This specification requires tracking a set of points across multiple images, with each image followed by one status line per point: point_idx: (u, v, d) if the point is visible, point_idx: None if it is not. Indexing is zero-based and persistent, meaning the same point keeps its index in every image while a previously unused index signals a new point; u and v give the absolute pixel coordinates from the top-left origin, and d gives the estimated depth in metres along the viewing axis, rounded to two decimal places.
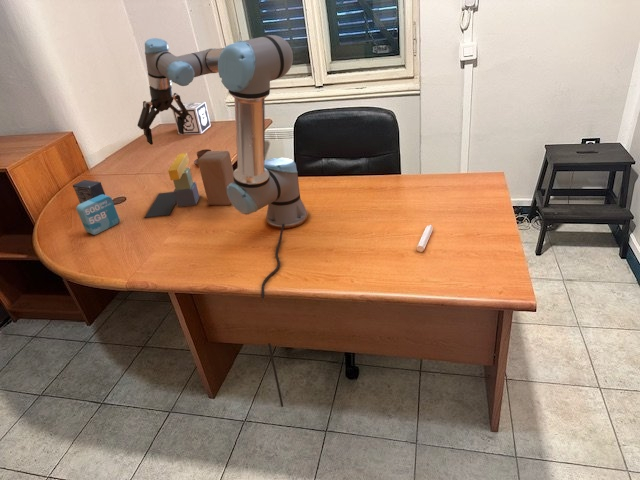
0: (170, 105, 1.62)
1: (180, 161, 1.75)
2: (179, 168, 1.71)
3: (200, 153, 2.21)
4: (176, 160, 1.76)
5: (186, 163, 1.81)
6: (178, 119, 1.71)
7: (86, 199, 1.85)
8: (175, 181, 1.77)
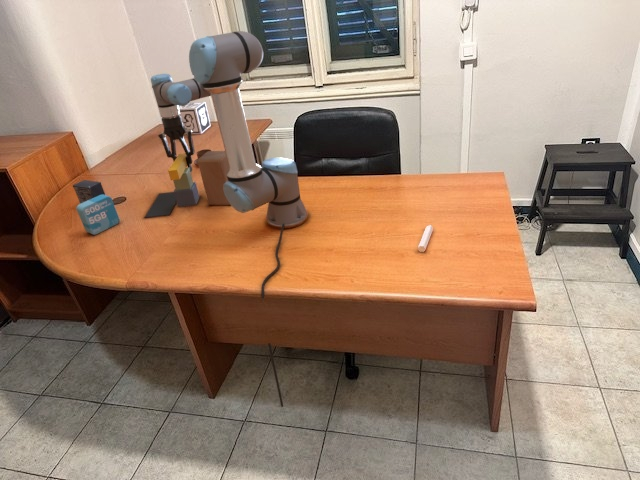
0: (180, 135, 1.75)
1: (180, 161, 1.75)
2: (179, 168, 1.71)
3: (200, 153, 2.21)
4: (176, 160, 1.76)
5: (186, 163, 1.81)
6: None
7: (86, 199, 1.85)
8: (175, 181, 1.77)
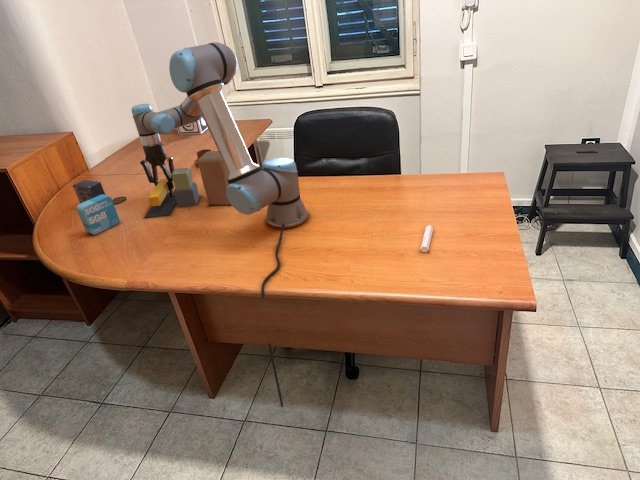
0: (161, 162, 1.80)
1: (161, 187, 1.81)
2: (160, 194, 1.76)
3: (200, 153, 2.21)
4: (158, 186, 1.82)
5: None
6: None
7: (86, 199, 1.85)
8: (175, 181, 1.77)
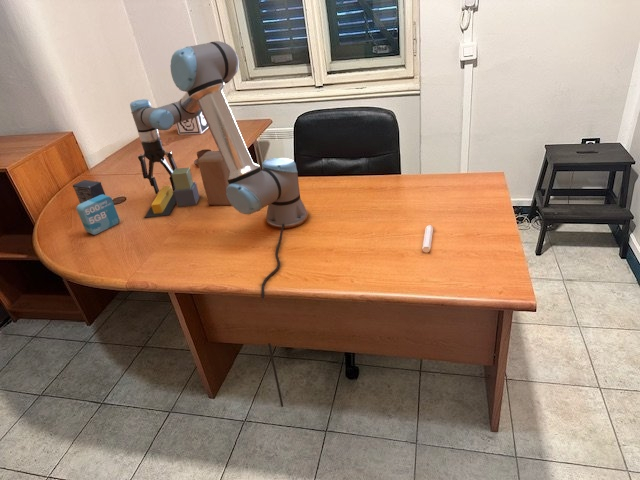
0: (160, 158, 1.79)
1: (163, 194, 1.82)
2: (162, 202, 1.78)
3: (200, 153, 2.21)
4: (160, 194, 1.83)
5: (170, 196, 1.88)
6: None
7: (86, 199, 1.85)
8: (175, 181, 1.77)
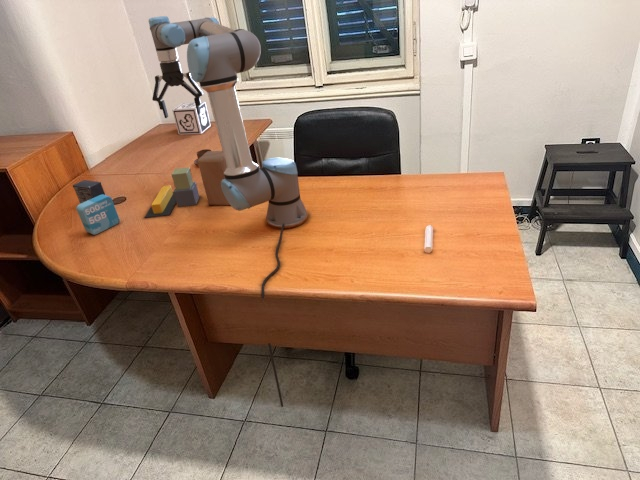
0: (178, 81, 1.73)
1: (163, 194, 1.82)
2: (162, 202, 1.78)
3: (200, 153, 2.21)
4: (160, 194, 1.83)
5: (170, 196, 1.88)
6: None
7: (86, 199, 1.85)
8: (175, 181, 1.77)
